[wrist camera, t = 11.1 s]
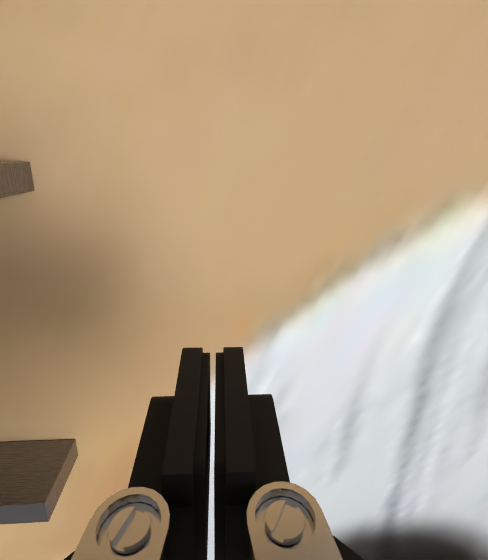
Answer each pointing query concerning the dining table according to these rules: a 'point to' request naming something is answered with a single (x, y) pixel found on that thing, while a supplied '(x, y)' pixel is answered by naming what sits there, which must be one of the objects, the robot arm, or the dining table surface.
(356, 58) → the dining table surface
